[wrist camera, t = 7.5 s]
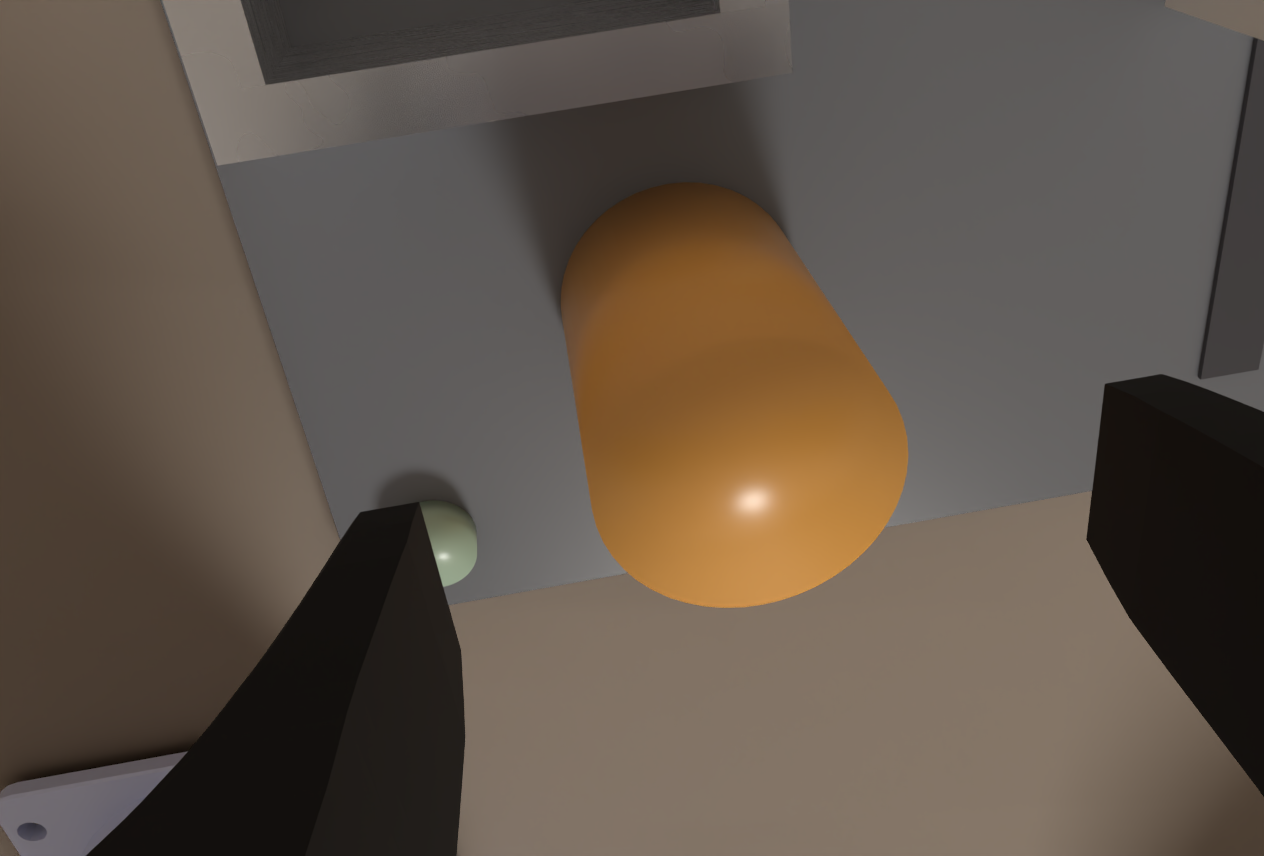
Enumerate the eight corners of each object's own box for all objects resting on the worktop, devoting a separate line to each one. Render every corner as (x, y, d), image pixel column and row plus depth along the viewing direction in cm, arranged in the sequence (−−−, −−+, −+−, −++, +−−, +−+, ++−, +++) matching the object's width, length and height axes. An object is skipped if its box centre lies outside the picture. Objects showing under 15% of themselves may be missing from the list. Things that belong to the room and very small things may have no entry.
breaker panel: (1333, 412, 20) (1390, 455, 19) (371, 583, 20) (364, 639, 18) (1636, -824, 12) (1773, -895, 11) (-13, -606, 11) (-75, -653, 10)
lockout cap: (802, 382, 18) (907, 578, 13) (580, 420, 17) (613, 631, 13) (791, 163, 16) (909, 310, 11) (541, 204, 16) (566, 368, 11)
